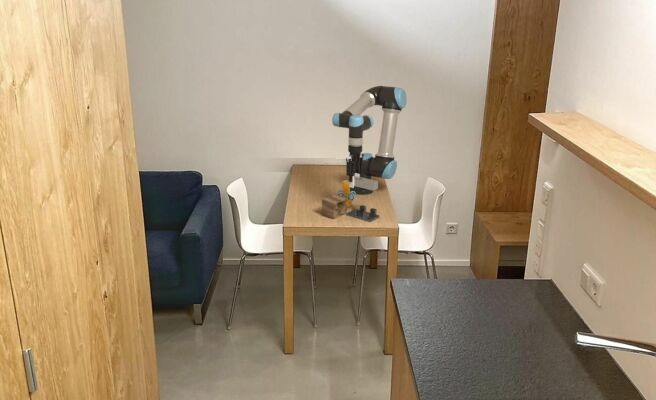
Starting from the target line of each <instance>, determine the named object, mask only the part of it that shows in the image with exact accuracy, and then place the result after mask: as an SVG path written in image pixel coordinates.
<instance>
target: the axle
mask: <svg viewBox="0 0 656 400" xmlns="http://www.w3.org/2000/svg"><path fill="white" fill-rule="evenodd" d="M371 179H372V178H371ZM371 179H366V178H362V177H358V176H354V186H357V187H361V188H365V189H369V190H373V191H376V190H378V189H379V181H378V180H375V179H372V180H371Z"/></svg>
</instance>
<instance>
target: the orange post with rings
mask: <svg viewBox="0 0 656 400" xmlns="http://www.w3.org/2000/svg"><path fill="white" fill-rule="evenodd" d="M352 192H354V193H352ZM336 194H337V195H340V196H344V197H347V208H350V207H351V206H352V201H354V200H355V198H356V195H357V194H356V193H355V191H351V192H350V187H349V179H345V180H342V189H339V190H338V192H337V193H336Z"/></svg>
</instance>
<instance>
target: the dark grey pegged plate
mask: <svg viewBox="0 0 656 400" xmlns="http://www.w3.org/2000/svg"><path fill="white" fill-rule="evenodd" d="M369 210H370V211H367V206H366V205H363V204H362V205H359V209H358V208H352V209H351V211H350V210H349V211H347V213H346V214H345V215H346V216H348V217H351V218H355V219H358V220H361V221H365V222H368V223H372V222H373V221H376V220H377V219H380V215H379V214H377V208H373V207H371V208H370V209H369Z"/></svg>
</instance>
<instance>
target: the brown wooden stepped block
mask: <svg viewBox="0 0 656 400" xmlns="http://www.w3.org/2000/svg"><path fill="white" fill-rule="evenodd" d="M340 195H341V194H340ZM340 195H337V193H335V194H333V195H331V196H328V197H326V198H323V199H321V200H322V202H321V216H322V217H325V218H327V219H331V220H336V219H338V218H340V217H342V216H344V215H346V213H348V207H347V197H344V196H342V195H341V196H340Z"/></svg>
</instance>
